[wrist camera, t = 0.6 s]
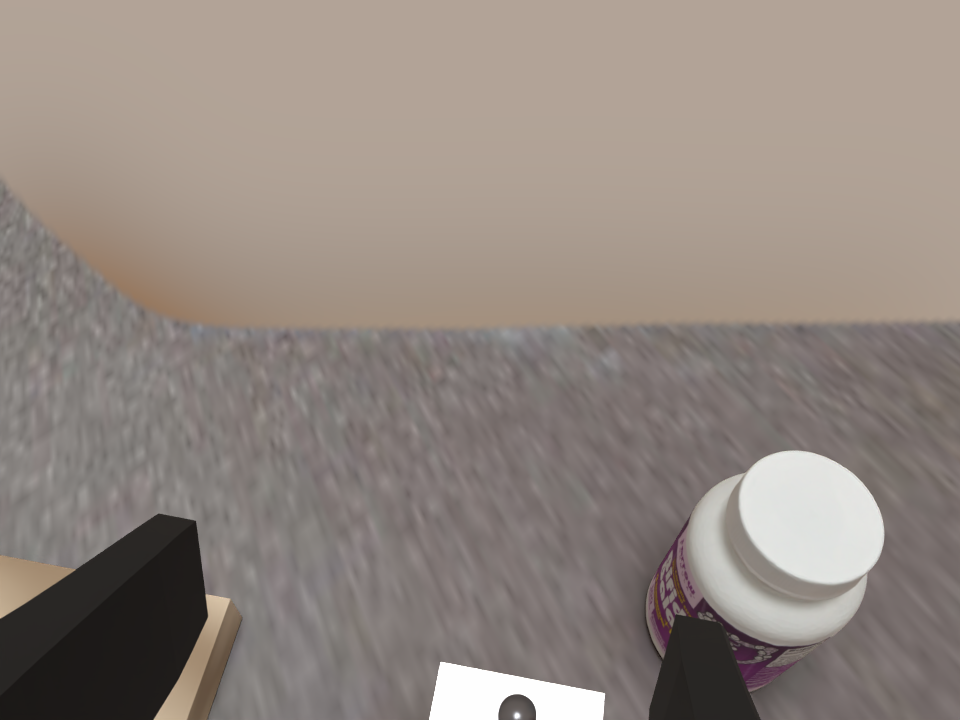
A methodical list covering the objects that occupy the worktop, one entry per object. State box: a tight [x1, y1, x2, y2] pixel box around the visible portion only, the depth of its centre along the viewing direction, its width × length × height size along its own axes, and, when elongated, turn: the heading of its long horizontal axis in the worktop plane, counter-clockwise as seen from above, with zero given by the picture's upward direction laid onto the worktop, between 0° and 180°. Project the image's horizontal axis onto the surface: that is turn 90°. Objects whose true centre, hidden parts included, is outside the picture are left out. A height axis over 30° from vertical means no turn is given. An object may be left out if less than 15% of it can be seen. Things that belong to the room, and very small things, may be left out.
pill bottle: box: [646, 451, 884, 692], centre depth 26 cm, size 5×5×10 cm
